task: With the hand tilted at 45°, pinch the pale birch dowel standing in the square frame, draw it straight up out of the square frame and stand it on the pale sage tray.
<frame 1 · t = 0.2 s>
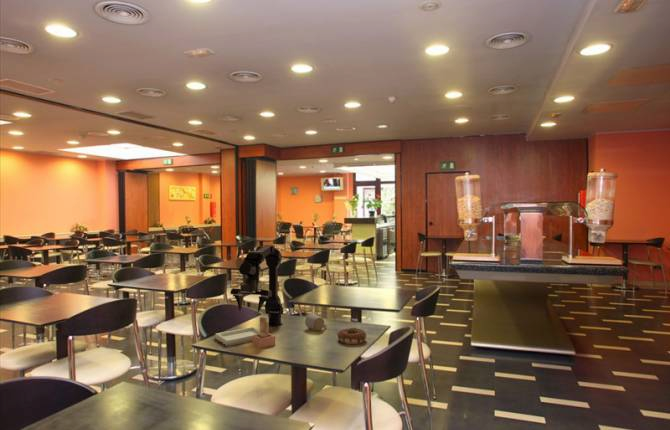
hand: (249, 311, 195), 15 cm above the table, tool tilted 15°, fingers open, 9 cm apart
donut: (351, 341, 202), on the table
tray: (240, 338, 204), on the table
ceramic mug: (316, 329, 221), on the table
dowel: (264, 330, 195), in the square frame
square frame: (264, 344, 195), on the table
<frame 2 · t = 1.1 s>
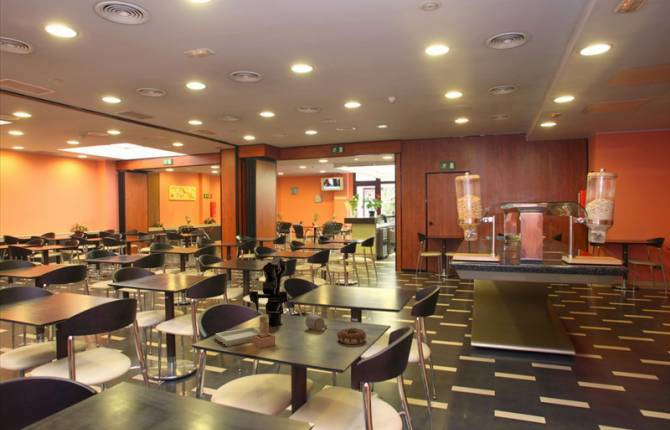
hand: (266, 311, 203), 13 cm above the table, tool tilted 45°, fingers open, 9 cm apart
nothing on the table moved.
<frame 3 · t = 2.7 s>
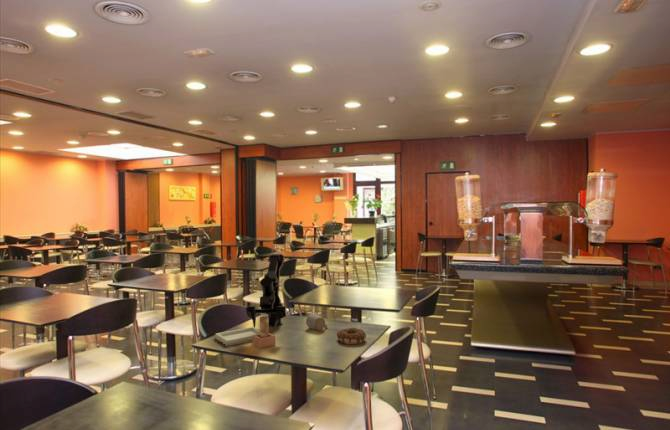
hand: (264, 327, 195), 8 cm above the table, tool tilted 45°, fingers open, 9 cm apart
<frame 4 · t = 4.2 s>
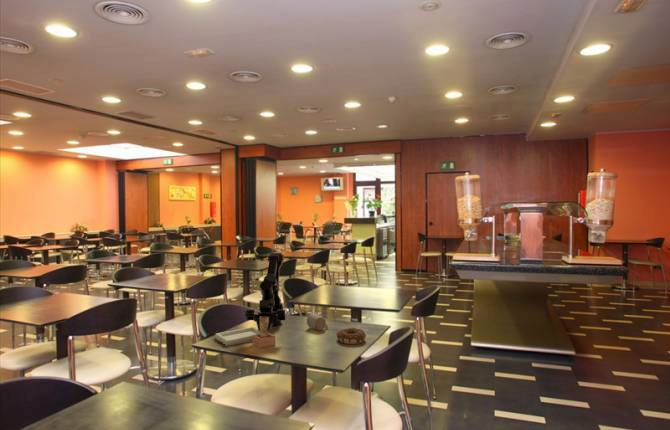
hand: (263, 331, 194), 7 cm above the table, tool tilted 45°, fingers closed on dowel, 4 cm apart
dowel: (264, 330, 195), in the square frame, touching gripper
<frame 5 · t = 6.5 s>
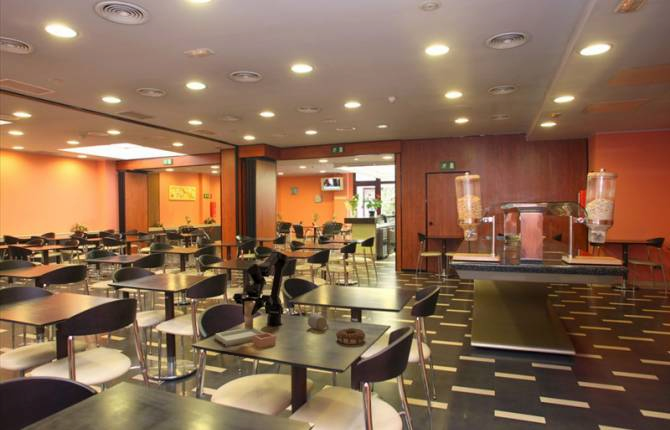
hand: (247, 314, 196), 13 cm above the table, tool tilted 45°, fingers closed on dowel, 4 cm apart
dowel: (248, 314, 198), point 13 cm above the table, touching gripper
when the fingers open (8 cm above the table, at t = 9.0 s): dowel stays where it is, resting on tray.
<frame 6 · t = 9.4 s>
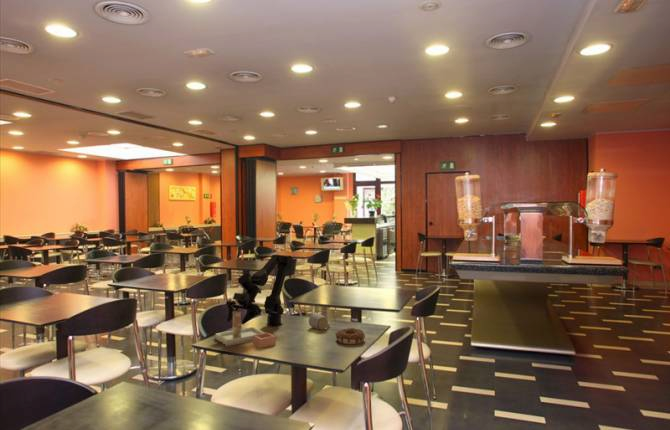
hand: (235, 322, 200), 9 cm above the table, tool tilted 45°, fingers open, 9 cm apart
dowel: (237, 324, 202), in the tray, point 7 cm above the table
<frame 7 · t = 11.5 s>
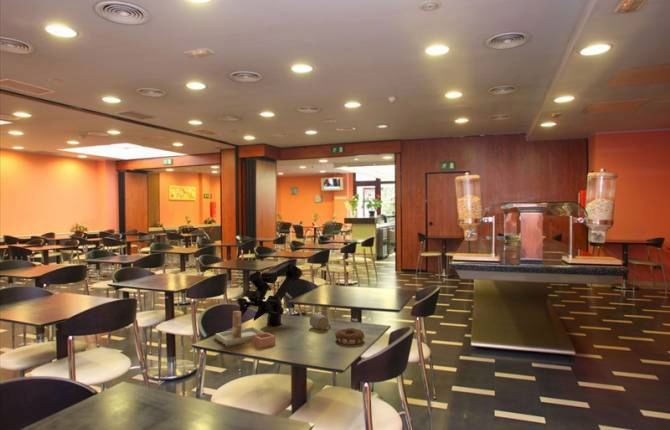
hand: (246, 319, 208), 8 cm above the table, tool tilted 45°, fingers open, 9 cm apart
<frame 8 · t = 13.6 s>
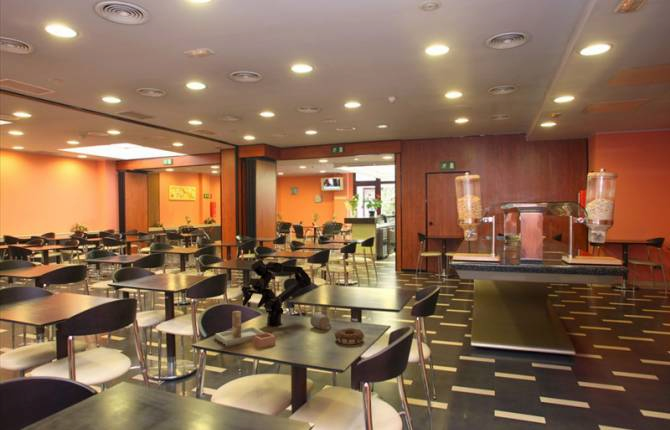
hand: (250, 306, 213), 14 cm above the table, tool tilted 45°, fingers open, 9 cm apart
at the end: dowel inside the target area on the tray (2.1 cm from its centre), point 7.3 cm above the tray's base; dowel tilted 1°; the gripper is holding nothing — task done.
